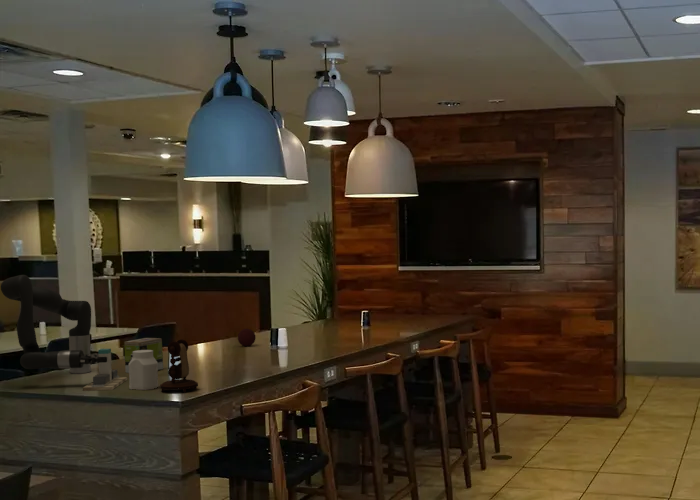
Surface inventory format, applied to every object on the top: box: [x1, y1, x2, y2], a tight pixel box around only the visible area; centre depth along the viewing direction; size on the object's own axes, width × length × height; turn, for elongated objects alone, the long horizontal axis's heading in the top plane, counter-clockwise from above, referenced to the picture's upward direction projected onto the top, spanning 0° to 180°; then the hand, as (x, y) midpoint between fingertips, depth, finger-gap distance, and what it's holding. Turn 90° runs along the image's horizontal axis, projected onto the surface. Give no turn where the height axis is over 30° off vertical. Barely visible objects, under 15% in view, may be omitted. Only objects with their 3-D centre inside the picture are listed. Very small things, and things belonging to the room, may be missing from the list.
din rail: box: [92, 368, 120, 387], centre depth 365 cm, size 25×5×4 cm, turn 1°
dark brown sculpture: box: [159, 338, 199, 393], centre depth 346 cm, size 15×15×20 cm
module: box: [97, 348, 113, 380], centre depth 365 cm, size 4×4×13 cm
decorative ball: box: [237, 328, 257, 347], centre depth 491 cm, size 10×10×10 cm
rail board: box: [82, 376, 128, 392], centre depth 365 cm, size 26×12×1 cm, turn 1°
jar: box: [128, 350, 159, 391], centre depth 355 cm, size 12×10×15 cm
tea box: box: [123, 337, 164, 374], centre depth 403 cm, size 15×10×15 cm
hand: (109, 358), depth 365 cm, fingers open, 8 cm apart
